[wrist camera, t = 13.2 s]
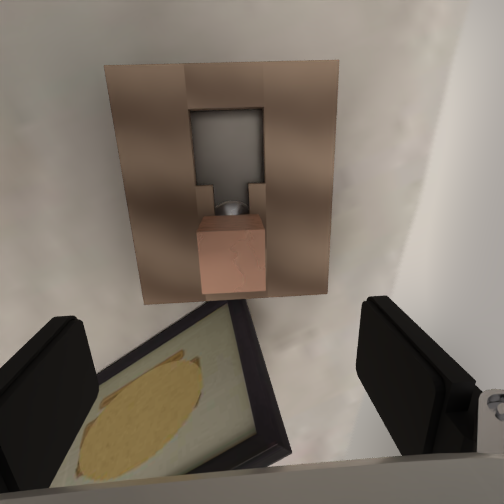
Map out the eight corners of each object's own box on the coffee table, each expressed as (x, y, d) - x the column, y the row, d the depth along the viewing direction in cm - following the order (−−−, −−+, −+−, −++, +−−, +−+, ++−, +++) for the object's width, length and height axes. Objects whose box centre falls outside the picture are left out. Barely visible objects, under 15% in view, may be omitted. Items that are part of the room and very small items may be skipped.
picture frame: (235, 281, 29) (256, 422, 16) (282, 338, 33) (332, 492, 19) (61, 395, 33) (-47, 595, 19) (121, 436, 36) (67, 627, 23)
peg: (206, 201, 27) (192, 229, 17) (255, 199, 27) (268, 225, 18) (210, 248, 28) (199, 297, 19) (257, 245, 28) (269, 293, 19)
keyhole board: (122, 77, 23) (103, 65, 20) (324, 72, 24) (339, 59, 21) (154, 287, 29) (144, 304, 26) (316, 278, 30) (327, 294, 27)
